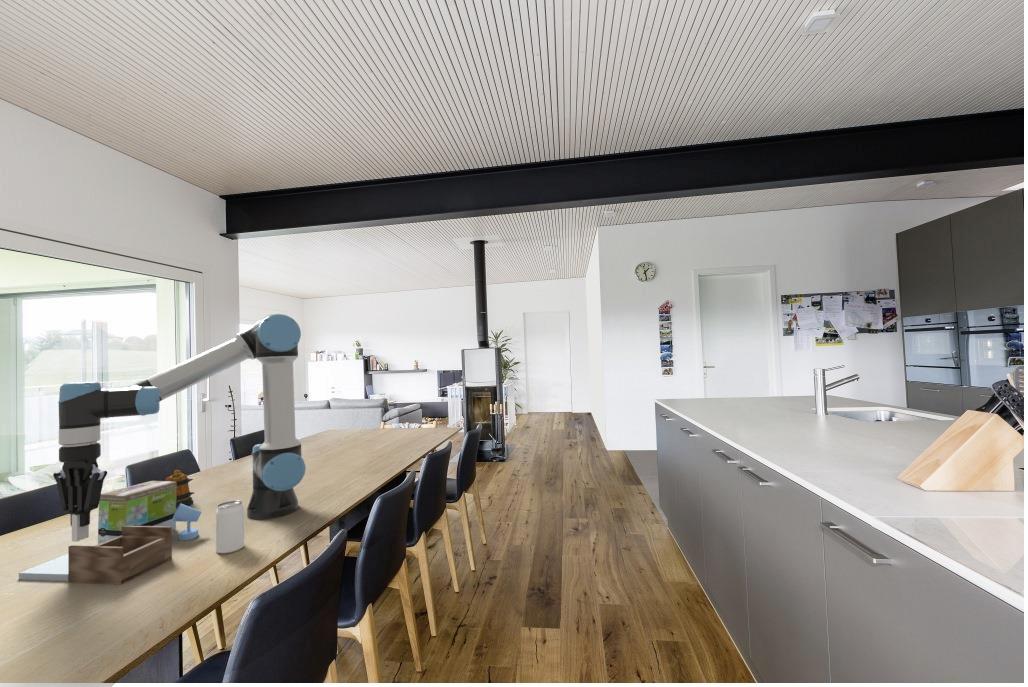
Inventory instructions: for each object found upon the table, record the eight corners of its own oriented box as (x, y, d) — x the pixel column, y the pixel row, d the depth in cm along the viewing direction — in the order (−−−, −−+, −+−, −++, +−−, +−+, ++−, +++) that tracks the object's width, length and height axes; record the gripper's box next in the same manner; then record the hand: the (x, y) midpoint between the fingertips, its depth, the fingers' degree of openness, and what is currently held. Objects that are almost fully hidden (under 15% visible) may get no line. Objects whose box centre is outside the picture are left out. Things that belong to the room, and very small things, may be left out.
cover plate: (115, 561, 116) (115, 553, 116) (67, 583, 105) (67, 574, 105) (70, 560, 117) (70, 552, 117) (18, 581, 106) (18, 572, 106)
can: (250, 545, 122) (249, 501, 122) (227, 555, 116) (227, 508, 116) (232, 543, 124) (232, 499, 124) (209, 552, 118) (209, 506, 118)
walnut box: (171, 558, 115) (171, 526, 115) (121, 584, 102) (121, 548, 102) (124, 557, 117) (124, 525, 117) (68, 582, 104) (68, 546, 104)
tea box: (126, 550, 122) (125, 495, 122) (96, 548, 124) (96, 494, 124) (177, 529, 136) (177, 480, 137) (150, 527, 138) (150, 479, 139)
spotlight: (171, 543, 125) (201, 536, 129) (171, 507, 125) (201, 502, 130) (172, 538, 129) (201, 531, 133) (171, 503, 129) (200, 498, 134)
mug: (194, 506, 158) (194, 473, 158) (157, 513, 152) (157, 478, 152) (194, 497, 168) (194, 466, 169) (159, 503, 162) (159, 471, 163)
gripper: (118, 440, 115) (118, 533, 114) (74, 441, 117) (74, 532, 116) (86, 446, 107) (86, 546, 107) (40, 447, 109) (40, 544, 108)
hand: (80, 539), depth 111 cm, fingers closed
